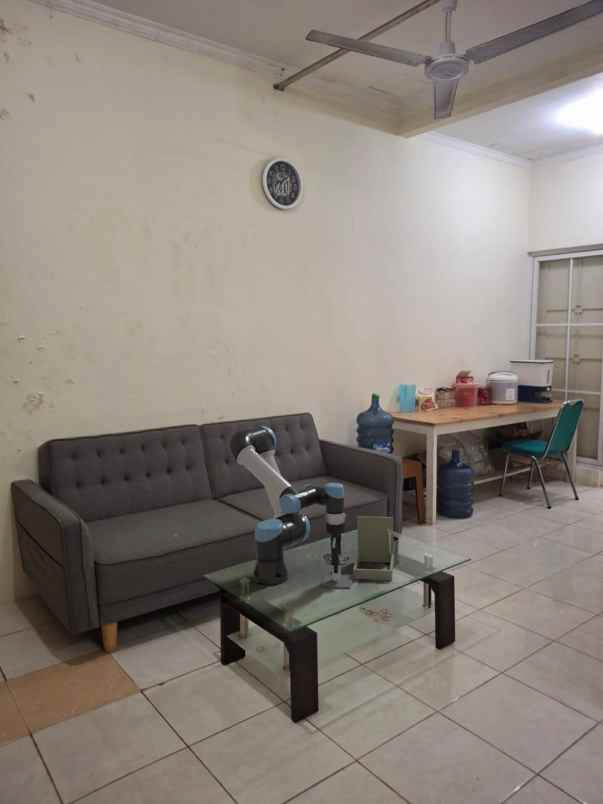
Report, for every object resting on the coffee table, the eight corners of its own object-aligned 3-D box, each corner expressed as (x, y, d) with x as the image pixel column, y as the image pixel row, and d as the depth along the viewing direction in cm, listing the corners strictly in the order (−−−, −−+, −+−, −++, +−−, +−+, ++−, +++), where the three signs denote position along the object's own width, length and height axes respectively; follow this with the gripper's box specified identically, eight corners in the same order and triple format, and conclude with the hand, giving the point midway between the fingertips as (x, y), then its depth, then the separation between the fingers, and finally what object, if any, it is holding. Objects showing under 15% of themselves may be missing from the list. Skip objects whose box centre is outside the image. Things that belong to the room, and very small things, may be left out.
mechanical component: (348, 581, 236) (348, 557, 235) (323, 579, 238) (323, 555, 237) (349, 578, 239) (349, 554, 238) (324, 576, 241) (324, 553, 240)
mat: (320, 587, 234) (320, 585, 234) (324, 575, 246) (324, 573, 246) (350, 588, 232) (350, 587, 231) (353, 576, 243) (353, 575, 243)
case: (353, 578, 241) (352, 531, 239) (358, 560, 261) (357, 516, 259) (391, 580, 238) (391, 532, 236) (393, 561, 258) (393, 517, 256)
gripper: (342, 528, 227) (343, 587, 230) (347, 516, 243) (348, 570, 246) (323, 528, 229) (324, 586, 231) (329, 515, 244) (330, 570, 247)
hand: (337, 578), depth 238 cm, fingers closed on mechanical component, 3 cm apart
